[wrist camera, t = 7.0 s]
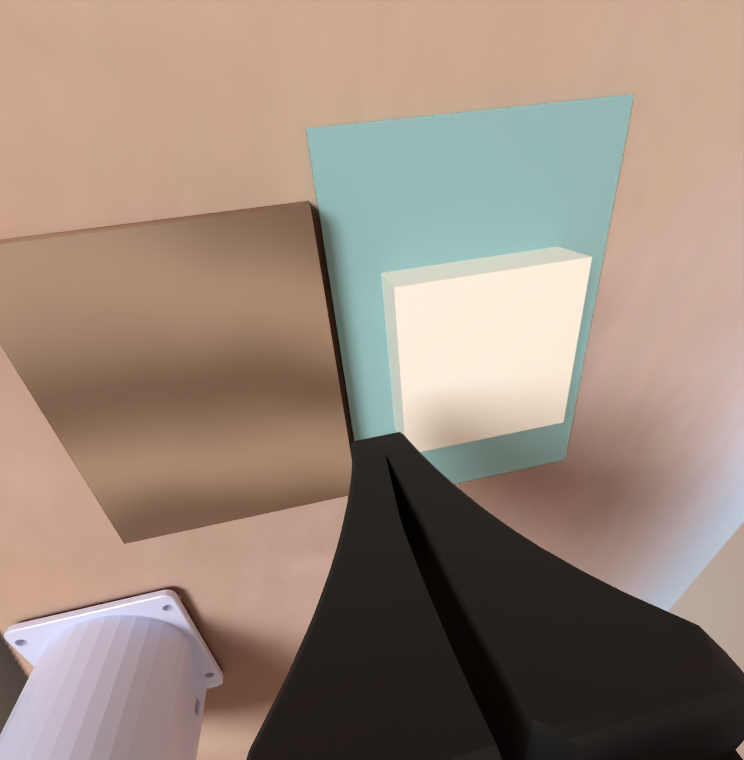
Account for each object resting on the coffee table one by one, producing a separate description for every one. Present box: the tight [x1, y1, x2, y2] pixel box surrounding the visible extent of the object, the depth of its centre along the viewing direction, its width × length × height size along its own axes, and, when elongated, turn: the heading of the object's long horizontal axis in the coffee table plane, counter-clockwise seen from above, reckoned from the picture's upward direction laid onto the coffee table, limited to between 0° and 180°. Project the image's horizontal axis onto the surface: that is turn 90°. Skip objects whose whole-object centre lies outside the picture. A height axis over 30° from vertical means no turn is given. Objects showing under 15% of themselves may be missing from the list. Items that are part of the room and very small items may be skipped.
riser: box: [0, 201, 352, 544], centre depth 15 cm, size 12×10×2 cm
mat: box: [306, 94, 634, 484], centre depth 17 cm, size 16×11×1 cm
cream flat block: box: [381, 246, 592, 452], centre depth 16 cm, size 7×7×2 cm
